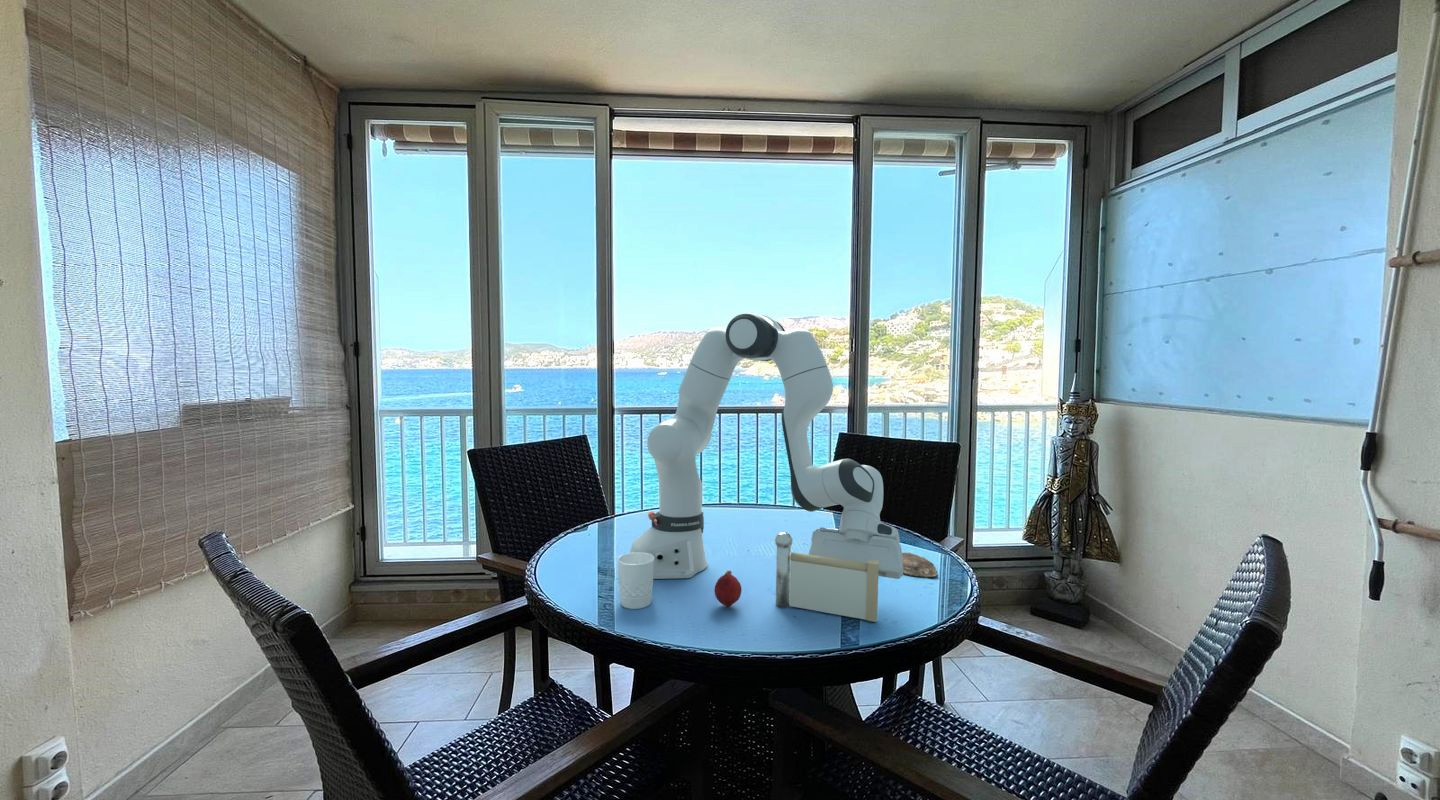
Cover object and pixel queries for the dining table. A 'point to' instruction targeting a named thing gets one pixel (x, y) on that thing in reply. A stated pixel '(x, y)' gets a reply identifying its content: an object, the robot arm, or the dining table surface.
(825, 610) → the gate leaf
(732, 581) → the onion
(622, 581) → the white cup
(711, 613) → the dining table surface
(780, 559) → the gate post
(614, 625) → the dining table surface
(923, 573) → the shell
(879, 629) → the dining table surface
